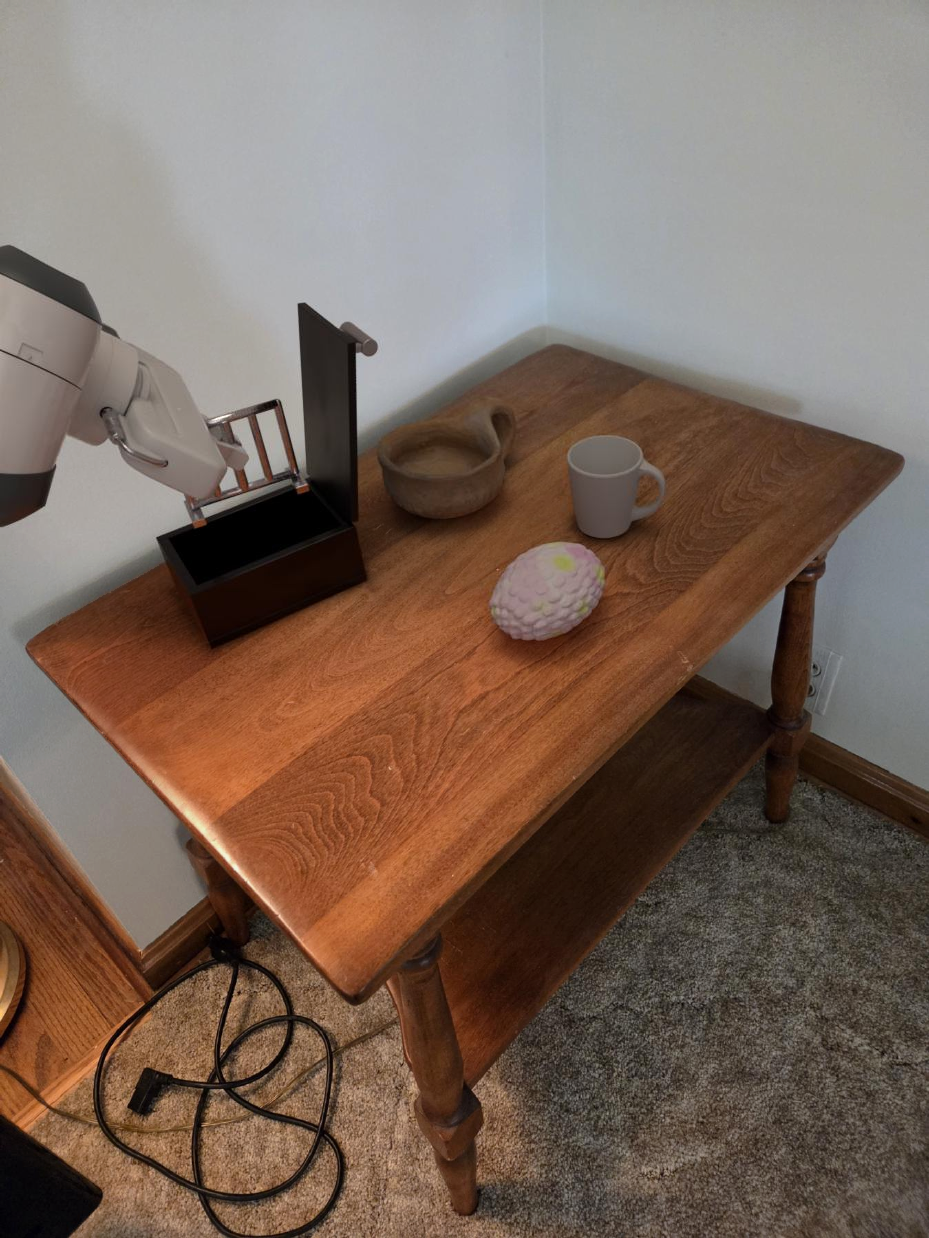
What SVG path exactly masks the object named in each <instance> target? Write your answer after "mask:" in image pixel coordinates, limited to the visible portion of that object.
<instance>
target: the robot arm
mask: <svg viewBox="0 0 929 1238" xmlns="http://www.w3.org/2000/svg"><path fill="white" fill-rule="evenodd" d="M210 418H211V417H208V416H207V415H206V414H204V413H202V412H201V411H200V409H199V407H198V406H197V404H196V401H195V399H194V398H193V396H192V393H191V392H190V390H189V388H188V386H187V384H186V382H185V379H184V378H183V376H182V375H181V374H180V373H179V372H178V371H177V370H175V368H174V367H172V366H170V365H169V364H168V363H166V362H165V361H163V360H161V359H159V358H158V357H156V356H155V355H153V354H151V353H149V352H148V351H146V350H144V349H143V348H141V347H139V346H138V345H136V344H134V343H131V342H130V341H128V340H127V339H123V338H121V337H120V335H119V333H118V331H117V330H116V329H115V328H114V327H112V326H111V325H110V324H107V323H105V322H104V321H103V320H102V317H101V314H100V311H99V309H98V307H97V305H96V302H95V301H94V298H93V296H92V294H91V292H90V291H89V289H88V287H87V285H86V283H84V282H83V281H81V280H79V279H77V278H75V277H73V276H70V275H69V274H66V273H65V272H63V271H61V270H59V269H57V268H55V267H53V266H51V265H50V264H48V263H45V262H43V261H42V260H40V259H39V258H37V257H34V256H33V255H31V254H29V253H27V252H25V251H23V250H22V249H20V248H18V247H16V246H14V245H11V244H4V245H1V246H0V528H5V527H8V526H10V525H12V524H15V523H17V522H20V521H21V520H24V519H26V518H27V517H29V516H31V515H33V514H35V513H37V512H38V511H39V510H42V509H43V508H45V507H46V505H47V503H48V498H49V495H50V493H51V488H52V485H53V482H54V477H55V473H56V470H57V461H58V458H59V455H60V452H61V450H62V448H63V444H64V443H65V441H66V440H65V439H66V437H70V438H72V439H74V440H77V441H80V442H82V443H84V444H86V445H89V446H91V447H98V446H101V445H103V444H104V443H105V442H106V441H108V440H109V441H110V442H111V443H112V445H114V446H117V447H118V449H119V454H120V456H121V458H122V459H123V461H124V462H125V463H126V464H127V465H128V466H129V467H130V468H132V469H133V470H135V471H137V472H138V473H140V474H142V475H143V476H145V477H147V478H149V479H151V480H153V481H155V482H157V483H160V484H162V485H163V486H166V487H168V488H170V489H172V490H174V491H177V492H179V493H181V494H183V495H184V494H185V495H188V496H190V497H192V498H195V499H209V498H211V497H212V495H213V494H214V492H215V491H216V489H217V488H218V486H219V485H221V483H222V481H223V479H224V477H225V476H226V474H227V472H228V468H230V469H232V470H233V469H235V470H237V471H240V470H242V469H243V468H244V469H245V467H246V464H248V462H249V460H250V456H249V454H248V452H247V451H246V449H245V448H244V447H243V444H242V441H241V440H240V438H239V437H238V435H237V434H234V433H233V434H234V437H235V441H236V444H235V443H233V442H229V444H227V443H224V440H223V437H222V434H221V430H220V427H219V426H216V427H213V428H210V429H208V427H207V425H206V423H205V421H204V420H207V419H210Z"/></svg>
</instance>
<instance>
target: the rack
mask: <svg viewBox="0 0 929 1238" xmlns="http://www.w3.org/2000/svg"><path fill="white" fill-rule="evenodd" d="M271 410H273V412H274V415H275V419H276V423H277V426H278V430H279V434H280V437H281V441H282V445H283V449H284V453H285V456H286V461H287V463H288V464H287V465H288V466H286V467H284V471H281V472H278V473H275V474H274V473H273V470H272V467H271V462H270V459H269V456H268V453H267V449H266V446H265V442H264V439H263V435H262V431H261V428H260V424H259V420H258V417H257V415H259V414H262V413H266V412H269V411H271ZM209 418H210V419H207V420H204V421H205V423H206V425H207V427H208V429H210V428H213V427H216V426H219V427H220V430H221V434H222V437H223V440H224V443H227V444H229V442H233V443H235V444H236V441H235V437H234V431H233V427H232V425H231V423H233V422H236V421H239V420H242V419H245V418H247V422H248V425H249V428H250V431H251V435H252V439H253V443H254V445H255V449H256V453H257V456H258V459H259V462H260V466H261V470H262V474H263V478H259V479H256V480H253V481H250V482H249V479H248V476H247V473H246V470H245V467H244V468H243V469H242V470H240V471H237V470H235V469H232V471H233V475H234V477H235V481H236V484H237V486H235V487H232V488H229V489H225V490H222V488H221V486H220V485H221V484H220V485H219V486H218V488H217V489H216V491H215V492H214V494H213V495H212V497H211V498H209V499H195V498H192V497H190V496H188V495H185V494H183V495H184V496H183V497H184V498H185V500H183V503H184V506H185V509H186V511H187V514H188V515H189V519H190V522H191V523H192V524H193V526H194V528H195V529H196V528H199V527H202V526H205V525H207V522H206V519H205V518H206V517H205V515H204V513H203V510H202V508H204V507H208V506H210V505H213V504H216V503H219V502H223V501H226V500H228V499H233V498H235V497H238V496H241V495H245V494H247V493H251V492H253V491H256V490H259V489H262V488H265V487H268V486H269V487H270V486H272V485H275V484H278V483H281V482H284V481H287V480H288V481H289V482H290V485H291V484H292V485H293V487H294V489H295V490H296V492H297V494H301V493H304V492H308V491H310V490H309V486H308V483H307V482H306V480H305V479H306V477H304V475H303V473H302V472H301V470H300V469H299V464H298V462H297V461H298V460H297V457H296V453H295V450H294V446H293V442H292V438H291V434H290V431H289V425H288V422H287V419H286V415H285V411H284V408H283V403H282V400H280V398H273V399H270V400H267V401H264V402H259V403H257V404H254V405H250V406H247V407H243V408H240V409H236V410H233V411H230V412H227V413H224V414H220V415H217V416H214V417H209Z"/></svg>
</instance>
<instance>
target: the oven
mask: <svg viewBox="0 0 929 1238" xmlns="http://www.w3.org/2000/svg"><path fill="white" fill-rule="evenodd" d="M305 480H306V482H307V483H308V486H309V490H310V491H308V492H304V493H301V494H297V492H296V490H295V489H294V487H293V485H292V484H291V483H290V484H287V485H286V486H283V487H281V488H277V489H276V490H273V491H270V492H268V493H266V494H262V495H260V496H257V497H256V498H253V499H250V500H247V501H244V502H242V503H240V504H237V505H235V506H232V507H229V508H227V509H224V510H222V511H219V512H217V513H214V514H212V515H209V516H206V517H205V519H206V522H207V525H205V526H202V527H199V528H196V529H195V528H194V526H193V524H192V522H191V523H187V524H186V525H183V526H181V527H178V528H176V529H173V530H171V531H167V532H166V533H163V534H160V535H158V536H156V537H155V540H156V542H157V545H158V547H159V549H160V552H161V553H162V558H163V559H164V561H165V564H166V567H167V569H168V572H169V574H170V576H171V579H172V582H173V584H174V586H175V589H176V592H177V593H178V594H179V596H180V598H181V599H182V601H183V604H184V605H185V607H186V609H187V611H188V612H189V614H190V615H191V617H192V618H193V620H194V622H195V624H196V625H197V627H198V629H199V631H200V632H201V634H202V636H203V638H204V639H205V641H206V643H207V645H208V647H209V648H210V649H211V650H213V649H215V648H218V647H220V646H222V645H224V644H227V643H230V642H231V641H234V640H236V639H238V638H240V637H242V636H245V635H247V634H249V633H252V632H254V631H257V630H259V629H261V628H263V627H266V626H267V625H270V624H272V623H274V622H276V621H279V620H281V619H283V618H285V617H287V616H290V615H292V614H295V613H297V612H299V611H301V610H304V609H306V608H308V607H310V606H313V605H315V604H317V603H319V602H322V601H324V600H326V599H328V598H331V597H333V596H336V595H338V594H340V593H342V592H345V591H346V590H349V589H351V588H353V587H355V586H358V585H360V584H362V583H365V582H367V581H368V576H367V573H366V567H365V562H364V559H363V553H362V549H361V544H360V539H359V535H358V529H357V526H356V525H355V523H354V522H352V523H351V522H350V520H349V519H348V518H347V517H346V516H345V515H344V514H343V513H342V512H341V511H340V509H339V508H338V507H337V506H336V505H335V504H334V503H333V502H332V501H331V500H330V498H329V497H328V496H327V495H326V494H325V493H324V492H323V491H322V490H321V489H320V487H319V486H318V485H317V484H316V483H315V482H314V481H313V480H312V479H311V478H310V476H308V477H305Z"/></svg>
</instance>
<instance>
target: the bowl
mask: <svg viewBox="0 0 929 1238" xmlns="http://www.w3.org/2000/svg"><path fill="white" fill-rule="evenodd" d="M514 412H515V411H514V410H513V408H512V407H511V406H510V405H509V404H508V403H507V402H506V401H504V400H501V399H499V398H496V397H492V396H479V397H477V398H475V399H474V400H473V401H472V402H470V403H469V404H468V405H467V406H466V408H464V410H463V411H462V412H461V413H460V414H457V415H456V416H452V417H449V418H436V419H428V420H423V421H421V420H420V421H416V422H409V423H405V424H404V425H402V426H398V427H397V428H395V429H393V430H392V431H389V432H388V433H386V434H385V435H383V436H382V437H381V438H380V440H379V441H378V444H377V447H376V458H377V461H378V464H379V466H380V468H381V476H382V481H383V486H384V489H385V492H386V493H387V494H388V497H390V499H392V501H394V503H395V504H396V505H397V506H399V508H402V509H404V510H405V511H407V512H408V513H410V514H412V515H416V516H419V517H422V518H426V519H427V518H428V519H432V520H433V519H437V520H438V519H439V520H440V519H441V520H443V519H446V520H447V519H454V518H460V517H463V516H466V515H469V514H473V513H475V512H476V511H478V510H481V509H482V508H483V507H485V506H486V505H488V504H489V503H491V502H492V501H493V500H494V499H496V497H497V496H498V495H499V494H500V493H501V491H502V489H503V486H504V485H505V480H506V474H507V473H506V470H507V469H506V465H505V460H506V457H507V456H508V455H509V453H510V450H511V449H512V448H513V444H514V442H515V438H516V433H517V422H516V421H517V420H516V415H515V413H514Z"/></svg>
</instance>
